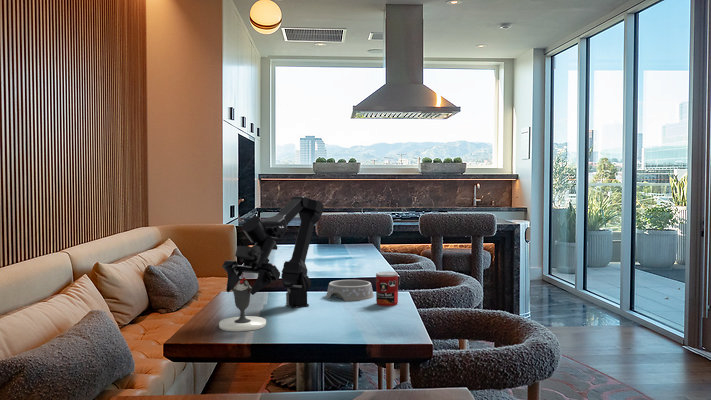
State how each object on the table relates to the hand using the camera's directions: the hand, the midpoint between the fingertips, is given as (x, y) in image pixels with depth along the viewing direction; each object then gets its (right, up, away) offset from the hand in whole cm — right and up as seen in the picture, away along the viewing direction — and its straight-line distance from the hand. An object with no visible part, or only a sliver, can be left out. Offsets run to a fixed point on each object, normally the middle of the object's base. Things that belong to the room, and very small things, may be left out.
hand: (239, 292), depth 173 cm
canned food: (+46, -9, +31) cm, 56 cm away
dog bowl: (+33, -9, +46) cm, 57 cm away
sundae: (+1, -9, +2) cm, 9 cm away
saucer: (+1, -10, +2) cm, 10 cm away
